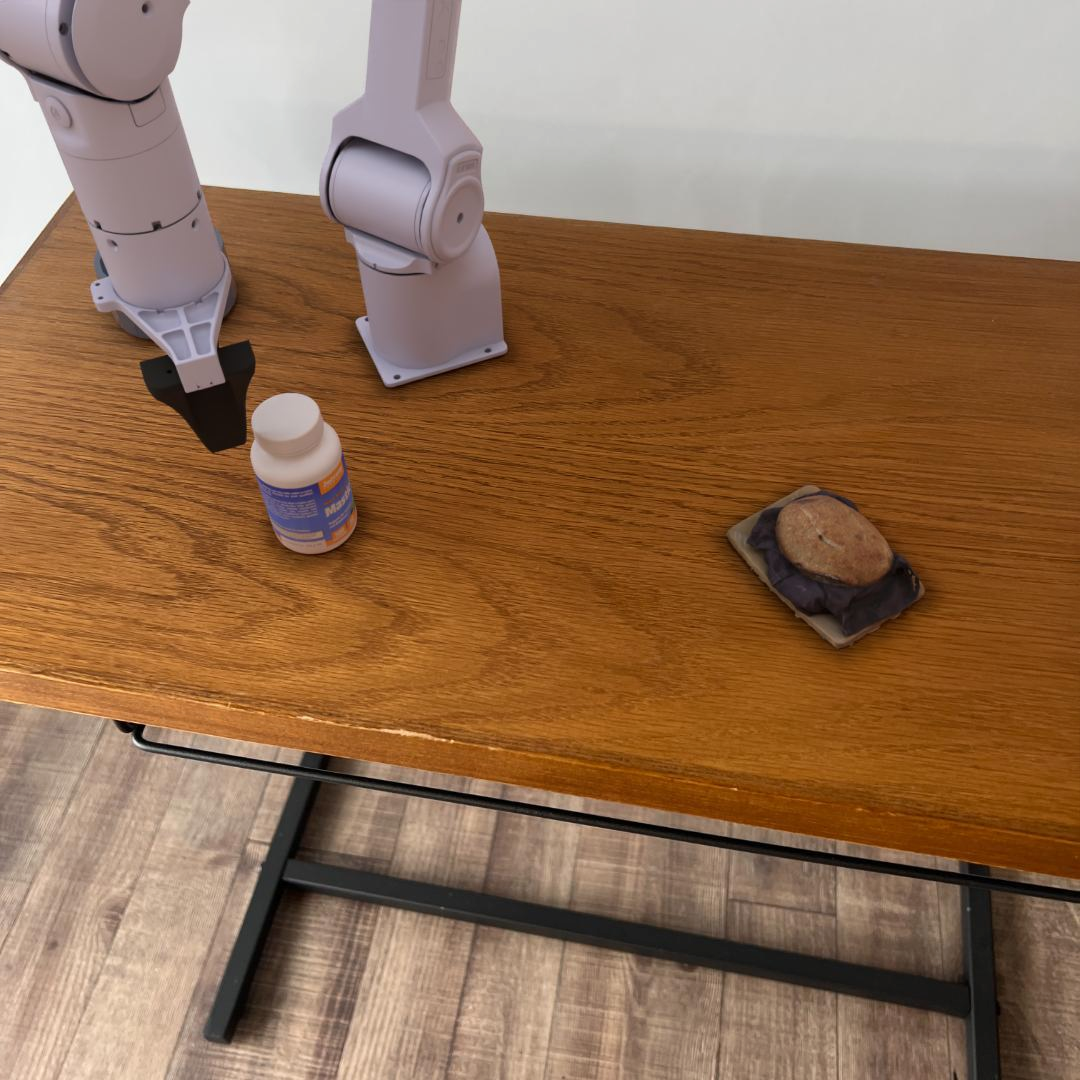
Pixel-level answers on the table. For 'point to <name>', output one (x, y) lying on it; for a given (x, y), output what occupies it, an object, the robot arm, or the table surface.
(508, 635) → the table surface
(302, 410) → the pill bottle
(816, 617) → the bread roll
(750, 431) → the table surface
